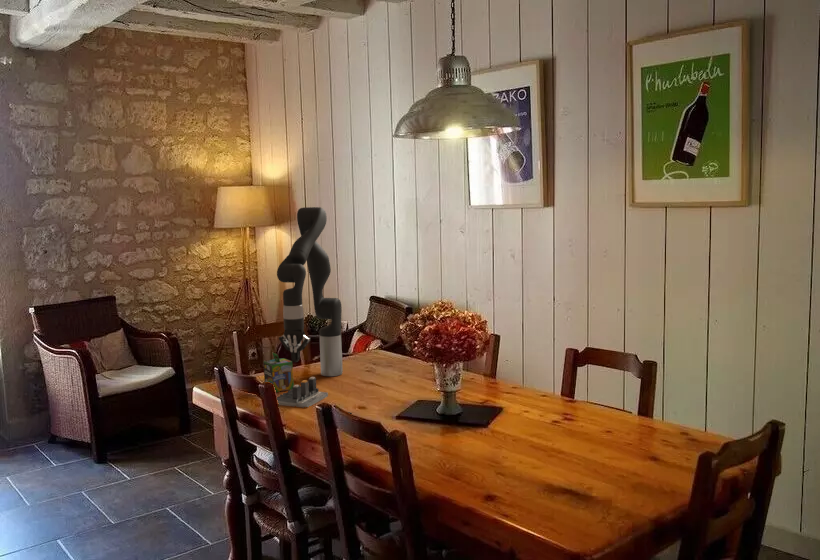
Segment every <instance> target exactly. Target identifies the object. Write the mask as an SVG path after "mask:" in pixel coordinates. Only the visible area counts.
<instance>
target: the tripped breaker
mask: <svg viewBox="0 0 820 560" xmlns="http://www.w3.org/2000/svg"><path fill="white" fill-rule="evenodd" d="M300 387H301V395H306V397H307V396H309V382H308V380H307V379H304V380H301V382H300Z"/></svg>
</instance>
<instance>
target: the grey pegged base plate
mask: <svg viewBox="0 0 820 560" xmlns="http://www.w3.org/2000/svg"><path fill="white" fill-rule="evenodd" d="M307 381H308V385H309V396H307V397H306V395H301V385H300V384H294V386H293V387H292V389H290V390H287V392H282V394H279V396H277V400H278V403H279V405H278V406H287V407H295V406H296V407H297V408H304V407H308V408H309V406H310V407H311V406H313V405H315V404H317V403H318V402H320V401H323V400H324V399H326V398H327V397H329V393H328V392H326V391H320V390H319V387H317V378H316V377H315V376H311V377H309V378H308V380H307Z"/></svg>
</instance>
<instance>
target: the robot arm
mask: <svg viewBox="0 0 820 560" xmlns="http://www.w3.org/2000/svg"><path fill="white" fill-rule="evenodd" d="M327 219H328V218H327V213H326V210H325V209H324V207H321V206H319V207H318V206H317V207H313V206H312V207H311V206H310V207H308V206H307V207H306V206H305V207H300V208H299V209H298V210H297V212H296V221H297V226H298V229H299V233H300V237H299V238H297V239H296V240H295V242H293V244H292V245H291V248H290V250H289V253H288V255H287V256H286V257H285V258H284V259H283V260H282V262H281V263H280V264H279V265H278V267H277V270H276V276H277V280H278V281H280V282H281V283H285V284H286V283H292V284H293V283H294V286H293V287H291V288H287V289H284V290H283V292H282V293H283V294H282V297H283V298H282V301H283V310H282V313H283V315H282V316H283V317H282V318H283V329H284V330H283V335H281V336H279V337H278V340H279V342H280V343H281V344H282V346H283V347H284V348H285V350H286V351H289V352H290V355H291V356H290V357H291V361H292V363H298V362H299V360H300V359H301V356H300V352H301V351H304V350H305V348H306V347H307V346H308V344H309V343H310V342H311V337H308V336H306V331H305V330H304V329H305V319H304V318H305V315H304V314H305V313H304V305H303V289H304V286H305V285H304V283H305V280H306V276H307V272H308V274H309V278H310V284H311V290H312V297H313V298H312V299H313V305H314V306H313V307H314V313H315V314H314V315H315V316H316V318H317V319H319V320H331V322H330V324H328V325H326V326H323V327H321V328H320V329H319V333H318V334H319V351H320V353H319V358H320V359H319V360H320V361H319V362H320V375H321V376H324V377H337V376H341V375H342V374H343V351H342V311H343V310H342V301H341V300H340V299H339V298H337V297H324V295H323V294H324V293H323V291H324V288H325V285H326V283H327V281H328V279H329V277H330V275H331V273H332V272H331V263H330V258H329V255H328V253H327V252H326V250H325V249H324V248H323V247H322V246H321V244H320V243H319V242H318V241H317V240H318V238H319V237H320V236H321V234H322V233H323V230H324V229H325V227H326V225H327ZM305 264H306V265H307V271H306V268H305V267H306V266H304V265H305Z"/></svg>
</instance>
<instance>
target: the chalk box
mask: <svg viewBox="0 0 820 560" xmlns="http://www.w3.org/2000/svg"><path fill="white" fill-rule="evenodd" d="M272 356H273V359H270V360H263V362H262V363H263V374H264V383H265V382H270V383H272V384H273V385H274V387H275V390H276V393H280V391H281V392H284V391H289V390H291V389H292V387H293V386H294V385H295V383H294V369H293V368H294V367H293V364H294V363H293V360H290V359H287V358H284V357H283V358H279V354H277V353H275V352H272Z"/></svg>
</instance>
